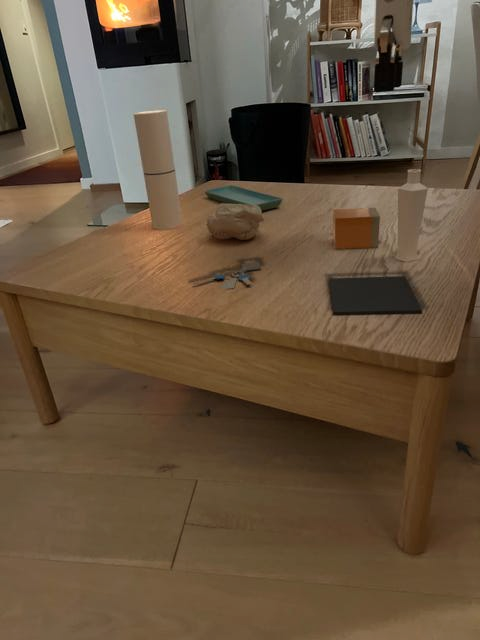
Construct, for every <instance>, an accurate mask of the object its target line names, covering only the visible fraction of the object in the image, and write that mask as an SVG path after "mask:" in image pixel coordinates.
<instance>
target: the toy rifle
mask: <svg viewBox="0 0 480 640" xmlns="http://www.w3.org/2000/svg"><path fill="white" fill-rule="evenodd" d="M240 266H241V269H238V270H236V271H232V270H228V271H227V270H226V271H224V272H223V273H222V274H215V275H213V277H211V278H208V279H205V280H201V281H198V282H196V283H192V286H196V285H199V284H203V283H206V282H210V281H213V280H222V279H224V281H223V284H222V287H221V289H222V290H230V289H231V290H232V289H235V286H236V283H237V279H238V281H242V282H243V284H245V285H246V286H251V285H252V284H253V282H251V281H250V279H251V275H250V274H245V273H246V272H249V271H257V270H261V269H262V266H261V264H260V262H258V261H256V262H255V261H254V262H246V263H241V265H240ZM226 273H231V276H232V277H233V278H228V277H226V275H225V274H226Z"/></svg>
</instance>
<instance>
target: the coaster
mask: <svg viewBox="0 0 480 640" xmlns="http://www.w3.org/2000/svg"><path fill="white" fill-rule="evenodd" d="M328 285H329V286H328V287H329V292H330V300H331V307H332V315H333V316H346V315H347V316H349V315H350V316H353V315H390V314H391V315H400V314H401V315H403V314H406V315H407V314H423V309H422V307H421V305H420V302H419V300H418V299H417V296H416V295H415V293H414V291H413V289H412V287H411V285H410V283H409V281H408V278H407V277H406V275H398V276H397V275H395V276H364V277H363V276H361V277H360V276H359V277H329V278H328Z"/></svg>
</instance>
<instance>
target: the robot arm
mask: <svg viewBox="0 0 480 640" xmlns="http://www.w3.org/2000/svg"><path fill="white" fill-rule="evenodd" d="M374 8H375V9H374V29H373V31H374V32H373V45H374V49H375V50H376V54H375V55H376V56H375V64H374V74H373V75H374V77H373V78H374V79H373V92H374V93H384V92H385V93H387V92H393V91H394V90H395V88H400V87H402V82H403V69H404V61H403V56H404V53H403V51H404V50H407V49H409V48H410V47H411V46H412V45H411V44H412V27H413V13H414V12H413V11H414V0H375V7H374Z"/></svg>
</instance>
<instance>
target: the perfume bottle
mask: <svg viewBox="0 0 480 640" xmlns="http://www.w3.org/2000/svg"><path fill="white" fill-rule="evenodd" d="M421 173H422V170H421V169H420V168H410V169H408V170H407V181H406V182H405V183H404V184H403V185H401V186H400V187H398V188H397V251H396V252H395V256H394V260H395V259H396V260H397V261H398V260H399V261H402V262H404V263H407V262H413V261H418V260H419V256H418V251H417V250H418V245H419V239H420V234H421V227H422V223H423V217H424V211H425V205H426V202H427V201H426V200H427V195H428V190H429V187H426V186H425V185H424V184H422V183H421V182H420V180H421Z"/></svg>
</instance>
